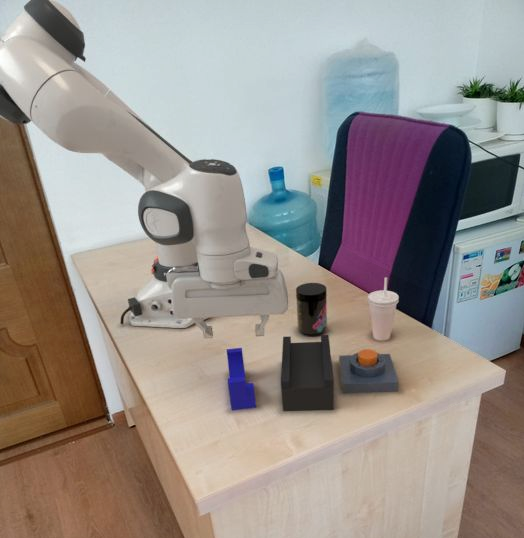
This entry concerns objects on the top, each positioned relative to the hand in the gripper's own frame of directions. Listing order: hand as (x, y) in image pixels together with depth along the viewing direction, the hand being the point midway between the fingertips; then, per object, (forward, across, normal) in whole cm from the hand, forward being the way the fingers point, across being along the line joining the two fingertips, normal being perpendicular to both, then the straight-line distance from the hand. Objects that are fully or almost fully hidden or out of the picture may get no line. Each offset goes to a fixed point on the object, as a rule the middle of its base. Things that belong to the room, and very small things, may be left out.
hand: (234, 335), depth 90 cm
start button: (+9, +24, +3) cm, 26 cm away
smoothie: (+12, +29, +19) cm, 37 cm away
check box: (+12, +24, +3) cm, 27 cm away
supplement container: (+12, +14, +23) cm, 30 cm away
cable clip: (+12, 0, 0) cm, 12 cm away
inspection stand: (+12, +13, +1) cm, 18 cm away
